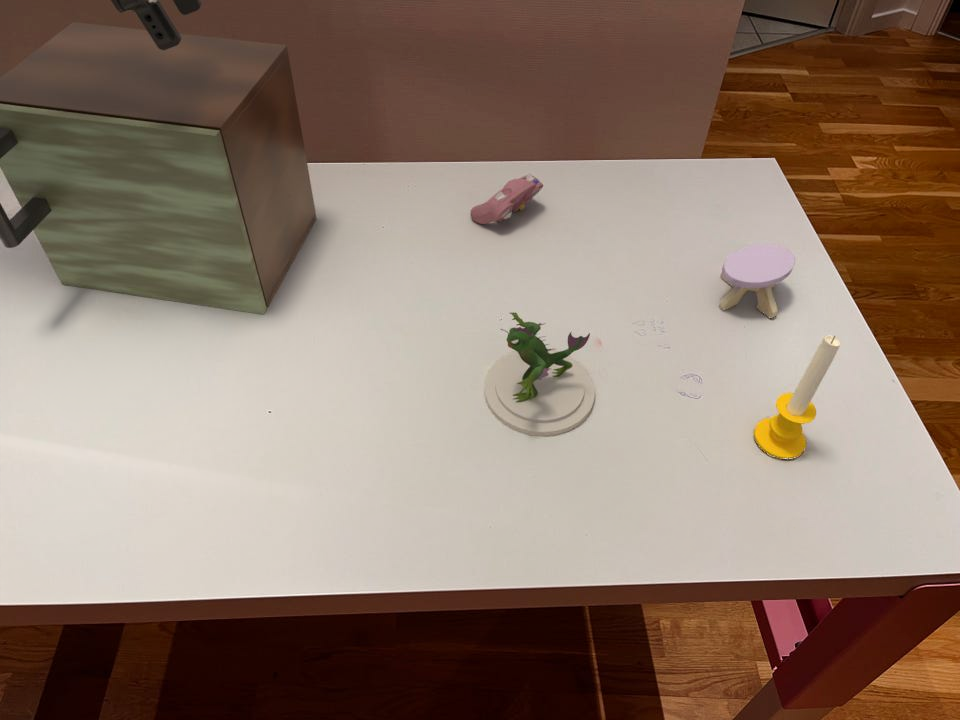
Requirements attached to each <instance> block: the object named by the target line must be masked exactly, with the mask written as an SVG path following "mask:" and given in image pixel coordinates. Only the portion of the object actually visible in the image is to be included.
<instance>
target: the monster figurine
mask: <svg viewBox="0 0 960 720" xmlns="http://www.w3.org/2000/svg"><path fill="white" fill-rule="evenodd" d="M509 314H510V315H512V317H513V318H512V319H511V321H516V322H517V323H518V324H516V325H515V326H519V327H511V328H510V329H509V331H507V330H505V329H503V328H500V331H504V332H506V333H507V336H506V343H507V347H508V348H510V349H512V350H513V351H510V352H508V353H505V354H503V355H502V356H501V357H500V358H498V359H497V360H496V361H495V362H493V364H492V365H491V366H490V368H489V370H488V371H487V373H486V375H485V379H484V386H483V396H484V399H485V403H486V405H487V407H488V409H489V411H490V413H491V414H492V415H493V416H494V418H496V419H497V421H499V422H500V423H502V424H503V426H506V427H508V428H509V429H511V430H513V431H516V432H517V433H520V434H525V435H528V436H534V437H551V436H557V435H562V434H565V433H567V432H569V431H572V430H573V428H574V429H575V428H577V427H579V425H581V424H582V423H583V422H584V421H585V420H587V418H588V417H589V415H590V414H591V412H592V410H593V406H594V402H595V397H596V389H595V383H594V381H593V377H592V376H591V374H590V373H589V371H588V370H587V369H586V368H585V366H584V365H583V364H582V363H581V362H579V360H577V359H576V358H574V357H572V356H571V354H573V353H574V352H576V351H579V350H580V349H582V348H583V347H584V346H585V345H586V344H587V343H588V341H589V339H590V335H591V333H590V332H589V333H588V334H587V335H586V336H585V337H584V336H582V335H579V336H578V337H575V336H573V334H572V332H569V334H568V335H567V346H568V348H567V349H564V350H557V349H554V348H548V347H546V346H547V345H549V343H547V344H545V343H544V341H545V339H541V338H546V337H547V335H545V336H539V337H538V336H537V335H538V332H539V331H541V328H542V327H541V326H544V325H545V324H546V322H544V323H542V322H539V323H537V322H534V321H524V320H523V319H522V318H521V317H520V316H519V315H518V313H517V312H516V311H515V312H509Z"/></svg>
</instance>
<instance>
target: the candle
mask: <svg viewBox="0 0 960 720" xmlns="http://www.w3.org/2000/svg"><path fill="white" fill-rule="evenodd" d="M840 347H841V342H840V340H839V339H838V337H837V338H836V335H831V334H827V335H824V337H823V338H822V341H821V343H820V344H819V346H818V347H817V349H816V351H815V353H814V355H813V356H812V358H811V360H810V362H809V364H808V366H807V368H806V369H805V371H804V373H803V375H802V376H801V379H800V380H799V382H798V383H797V386H796V388H795V390H794V391H793V392H785V393H783V394H780V395H779V396H778V397H777V398H776V400H775V407H776V410H777V412H778V413H776V414H774V415H773V416H771V417H766V418H763V419H761V420H760V421H758V422H757V424H756V426H755V427H754V429H753V438H754V437H755V439H754V442H755V441H756V442H755V443H757V444H758V445H757V444H756V445H757V447H758V446H760V448H762V450H763V451H765V452H766V453H768V454H769V455H771V456H775V457H778V458H782V459H783V458H788V459H789V458H794V457H797V456H799V455H800V456H801V455H802V454H803V453H804V452H805V450H806V447H807V440H806V436H805V434H804V433H803V426H802V425H805V424H810V423H811V422H813V421H814V420H815V419H816V417H817V408H816V406H815V404H814V403H813V401H812V399H813V397H814V396H815V394H816V392H817V390H818V388H819V386H820V385H821V383H822V381H823V379H824V377H825V375H826V373H828V370H829V368H830V367H831V365H832V362H833V361H834V359H835V357H836V355H837V354H838V353H837V352H838V351H839V349H840ZM760 448H759V449H760ZM762 450H761V451H762ZM763 451H762V452H763ZM803 451H804V452H803ZM765 452H764V453H765ZM802 452H803V453H802ZM766 453H765V454H766ZM801 453H802V454H801ZM769 455H768V456H769ZM771 456H770V457H771ZM800 456H799V457H800ZM797 458H798V457H797Z"/></svg>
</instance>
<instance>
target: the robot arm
mask: <svg viewBox="0 0 960 720" xmlns="http://www.w3.org/2000/svg"><path fill="white" fill-rule="evenodd" d="M110 1H111V3H112V4H113V6H114V8H115V9H116V10H117V11H118V12H119V13H120V14H121V13H124V12H126V11H129V12H131V13H133V12H134V13H135V14H136V15H137V18H138V19H139V20H140V22H141V24H142V25H143V27H144V28H145V30H147V31H148V33H149V34H150V36H151V37H152V39H153V41H154V42H155V44H156V45H157V47H158V48H159V49H161V50H166V49H169V48H172V47H174V46H177V45H178V44H179V43H180V41H181V36H180V34H181V33H179V31H178V30H177V28H176V26H175V25H174V23H173V21H172V20H171V18H170V16H169V15H168V13H167V12H166V10H165V8H164V6H163V5H162V3H161V1H160V0H110ZM172 1H173V3H174V5H175V6H176V8H177V10H178V12H179V13H180V14H181V15H183V16H187V15H189V14H192V13H194V12H197V11H199V10H200V9H201V7H202V1H201V0H172Z"/></svg>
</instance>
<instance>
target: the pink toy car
mask: <svg viewBox="0 0 960 720" xmlns="http://www.w3.org/2000/svg"><path fill="white" fill-rule="evenodd" d="M543 188H544V184H543V183H542V182H541V181H540V179H539V178H538V177H536V176H534V175H532V174H531V173H529V174H526V175H524V176H521V177H518V178H515V179H511V180H509V181H507V183H506V184H505V185H504V186H503V188H501V189H499V191H497V192H496V193H495V194H494V195H493V196H492V197H490V198H489V199H488V200H487V201H485V202H483V203H480V204H478V205H475V206H473V207H472V208H471V209H470V213H469V215H470V218H471V220H472V221H473V222H475V223H477V224H480V225H485V224H490V223H493V222H499V223H502V222H503V221H505V220H507V219H509V218H510V217H511V216H512V212H514V213H517V212H519V211H523V210H524V209H525V205H526V204H528V202H529V201H531V200H532V199H534V197H536V196H537V194H539V193H540V191H542V189H543Z"/></svg>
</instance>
